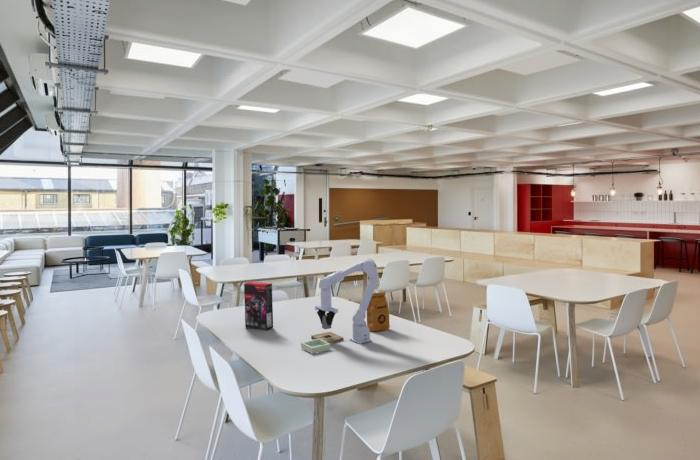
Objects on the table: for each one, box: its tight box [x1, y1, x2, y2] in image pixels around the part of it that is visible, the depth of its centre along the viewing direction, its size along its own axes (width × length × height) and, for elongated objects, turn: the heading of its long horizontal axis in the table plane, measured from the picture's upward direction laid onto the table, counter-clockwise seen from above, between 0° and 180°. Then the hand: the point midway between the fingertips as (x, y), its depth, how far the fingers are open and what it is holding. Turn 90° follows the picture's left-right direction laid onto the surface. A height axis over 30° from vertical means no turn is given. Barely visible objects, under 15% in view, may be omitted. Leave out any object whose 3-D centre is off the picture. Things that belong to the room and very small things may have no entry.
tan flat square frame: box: [310, 331, 344, 344], centre depth 235 cm, size 14×12×2 cm
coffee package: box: [366, 291, 391, 332], centre depth 251 cm, size 10×12×22 cm
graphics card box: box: [243, 281, 274, 331], centre depth 258 cm, size 17×7×27 cm, turn 62°
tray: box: [300, 339, 332, 355], centre depth 219 cm, size 11×11×3 cm
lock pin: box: [321, 313, 332, 330], centre depth 234 cm, size 4×4×7 cm
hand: (326, 324), depth 234 cm, fingers closed on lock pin, 4 cm apart
